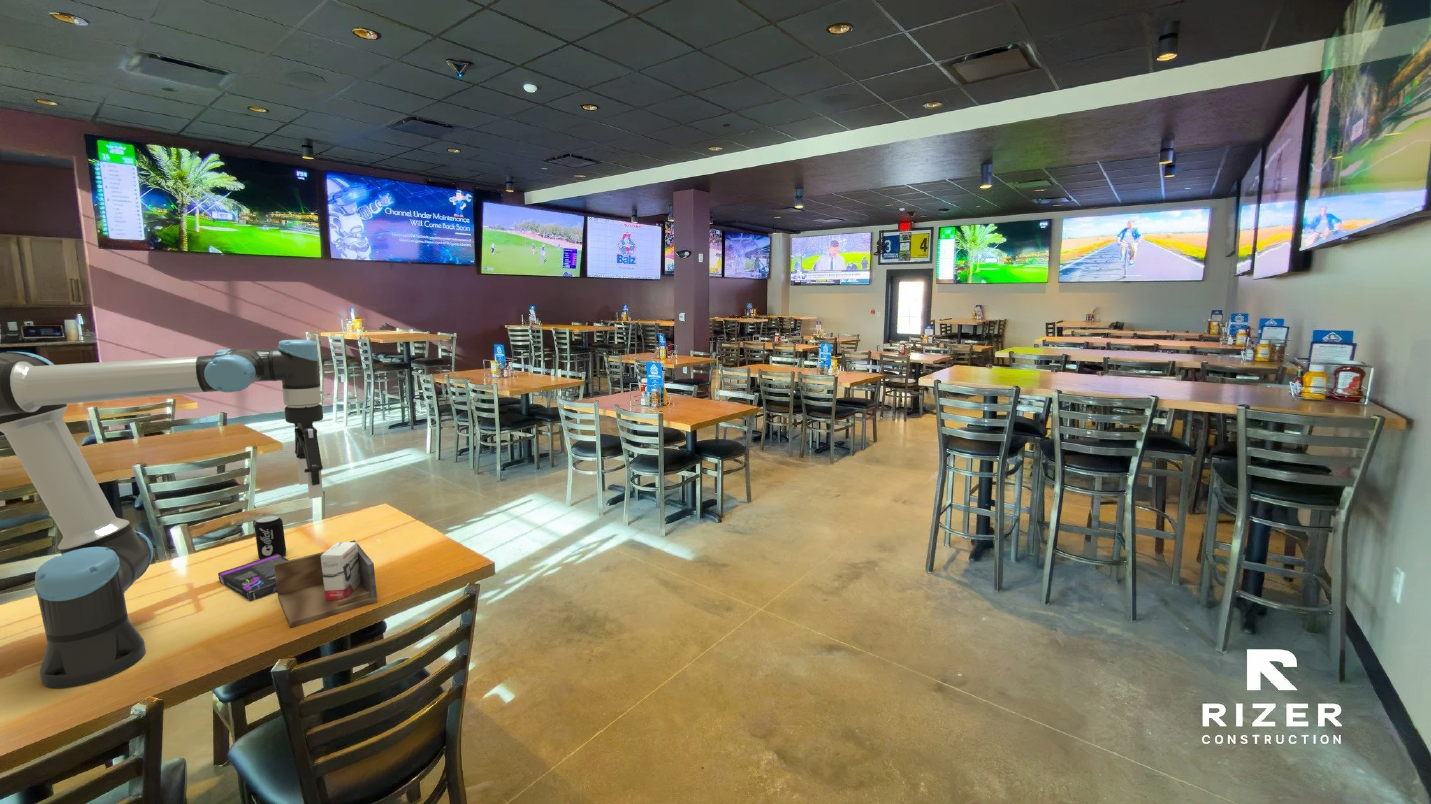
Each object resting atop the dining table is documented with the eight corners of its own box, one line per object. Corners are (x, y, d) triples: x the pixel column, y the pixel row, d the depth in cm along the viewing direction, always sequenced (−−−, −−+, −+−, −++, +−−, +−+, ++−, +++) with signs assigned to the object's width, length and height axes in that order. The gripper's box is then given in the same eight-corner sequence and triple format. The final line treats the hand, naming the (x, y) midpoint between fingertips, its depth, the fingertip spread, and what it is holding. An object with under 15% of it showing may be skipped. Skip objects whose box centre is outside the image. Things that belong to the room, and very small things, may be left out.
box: (219, 584, 162) (250, 604, 151) (217, 572, 161) (247, 591, 151) (279, 564, 173) (311, 581, 163) (277, 553, 173) (309, 569, 162)
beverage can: (290, 556, 177) (286, 516, 175) (264, 564, 172) (259, 524, 170) (280, 550, 181) (275, 512, 179) (254, 558, 175) (249, 519, 173)
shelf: (290, 627, 140) (285, 586, 138) (277, 597, 153) (273, 559, 152) (377, 601, 152) (373, 563, 150) (358, 575, 165) (354, 540, 164)
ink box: (346, 599, 150) (341, 554, 148) (324, 600, 149) (319, 555, 147) (361, 583, 158) (357, 540, 156) (341, 584, 158) (336, 541, 156)
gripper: (332, 411, 139) (339, 500, 142) (312, 396, 157) (319, 475, 160) (293, 414, 134) (301, 507, 137) (276, 399, 152) (284, 480, 155)
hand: (310, 490), depth 149 cm, fingers open, 13 cm apart
